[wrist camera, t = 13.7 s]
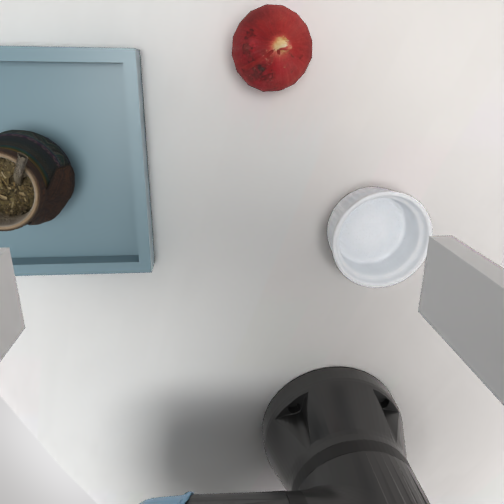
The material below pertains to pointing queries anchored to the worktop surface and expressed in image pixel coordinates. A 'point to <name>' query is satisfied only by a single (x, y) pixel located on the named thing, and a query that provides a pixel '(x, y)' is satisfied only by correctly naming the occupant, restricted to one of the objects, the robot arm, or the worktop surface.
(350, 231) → the ramekin
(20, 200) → the mate gourd
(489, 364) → the robot arm
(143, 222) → the slate tray
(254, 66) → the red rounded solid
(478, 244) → the worktop surface
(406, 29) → the worktop surface
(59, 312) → the worktop surface
